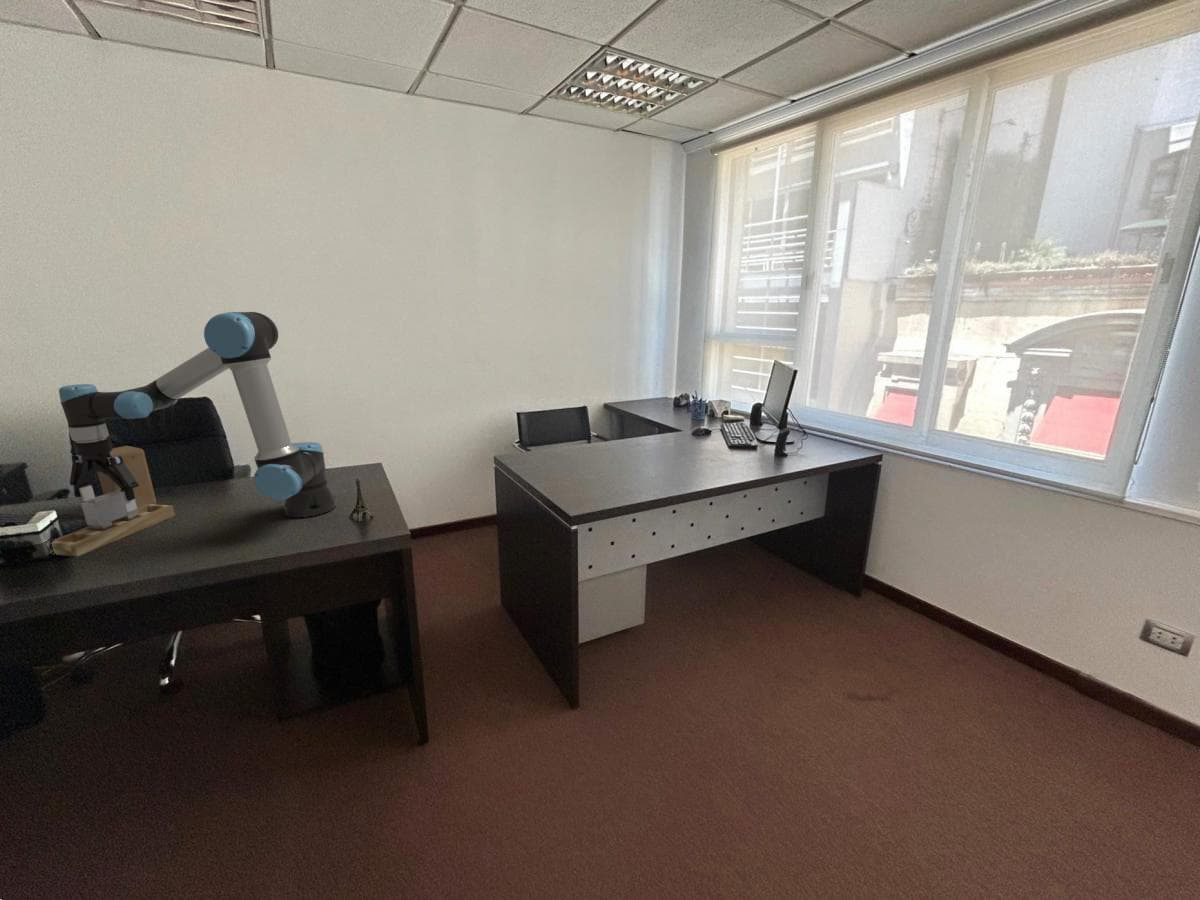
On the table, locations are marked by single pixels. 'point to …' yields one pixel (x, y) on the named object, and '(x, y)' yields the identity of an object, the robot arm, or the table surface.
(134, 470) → the wooden block
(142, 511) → the rail
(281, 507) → the table surface
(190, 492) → the table surface
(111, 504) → the grey concrete brick
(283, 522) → the table surface
